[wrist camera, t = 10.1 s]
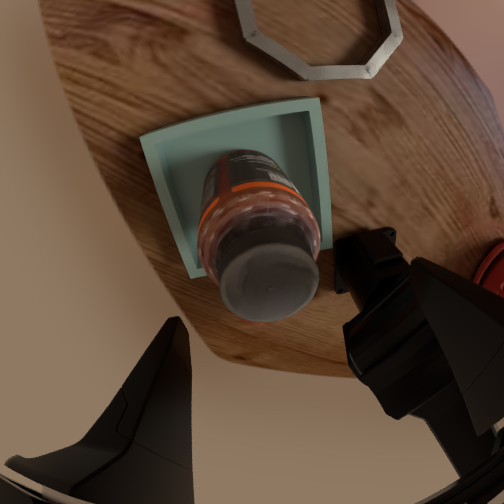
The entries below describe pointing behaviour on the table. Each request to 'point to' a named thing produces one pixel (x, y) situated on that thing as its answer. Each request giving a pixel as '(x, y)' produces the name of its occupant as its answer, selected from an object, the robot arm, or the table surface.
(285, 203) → the supplement bottle
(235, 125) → the tray
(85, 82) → the table surface
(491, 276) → the plant pot
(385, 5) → the holder ring
